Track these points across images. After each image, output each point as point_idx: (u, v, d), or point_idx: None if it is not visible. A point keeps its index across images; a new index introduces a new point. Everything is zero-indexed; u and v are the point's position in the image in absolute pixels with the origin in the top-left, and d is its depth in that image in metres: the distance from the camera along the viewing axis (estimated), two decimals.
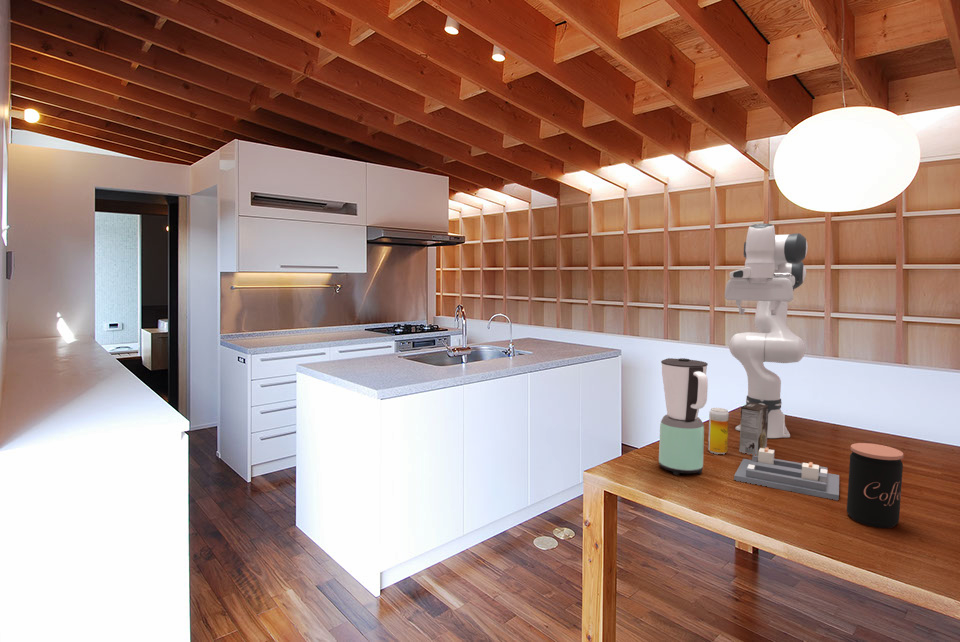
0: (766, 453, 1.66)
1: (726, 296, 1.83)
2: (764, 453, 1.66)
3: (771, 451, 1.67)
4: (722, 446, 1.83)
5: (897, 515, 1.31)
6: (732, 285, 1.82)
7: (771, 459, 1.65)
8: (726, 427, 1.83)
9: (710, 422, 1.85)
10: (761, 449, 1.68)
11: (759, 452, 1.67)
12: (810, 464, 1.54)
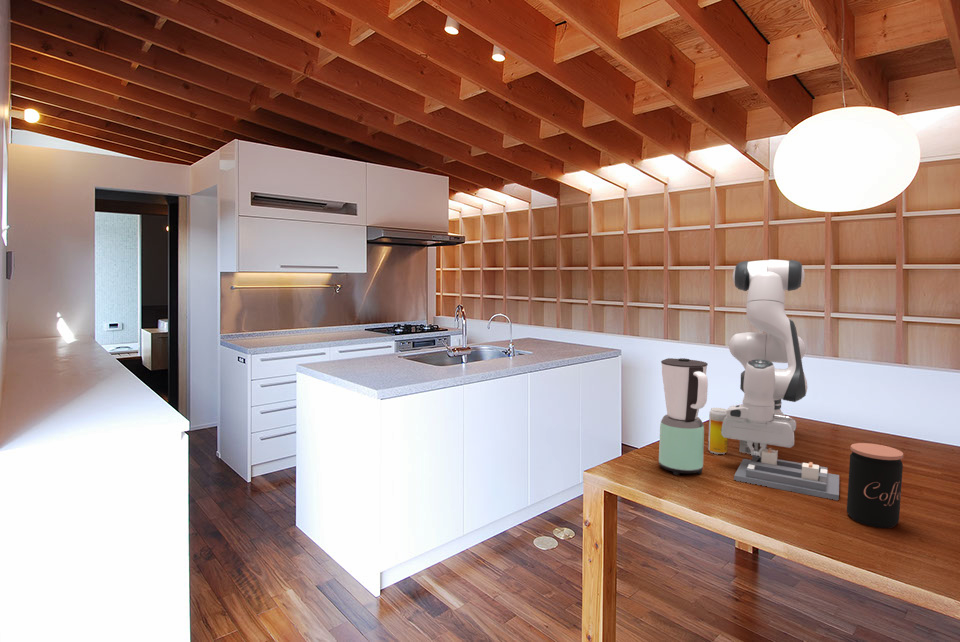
0: (769, 454, 1.65)
1: (723, 433, 1.72)
2: (767, 454, 1.65)
3: (774, 452, 1.66)
4: (722, 446, 1.83)
5: (897, 515, 1.31)
6: (729, 423, 1.71)
7: (774, 460, 1.64)
8: None
9: (710, 422, 1.85)
10: (764, 450, 1.68)
11: (762, 453, 1.66)
12: (810, 464, 1.54)
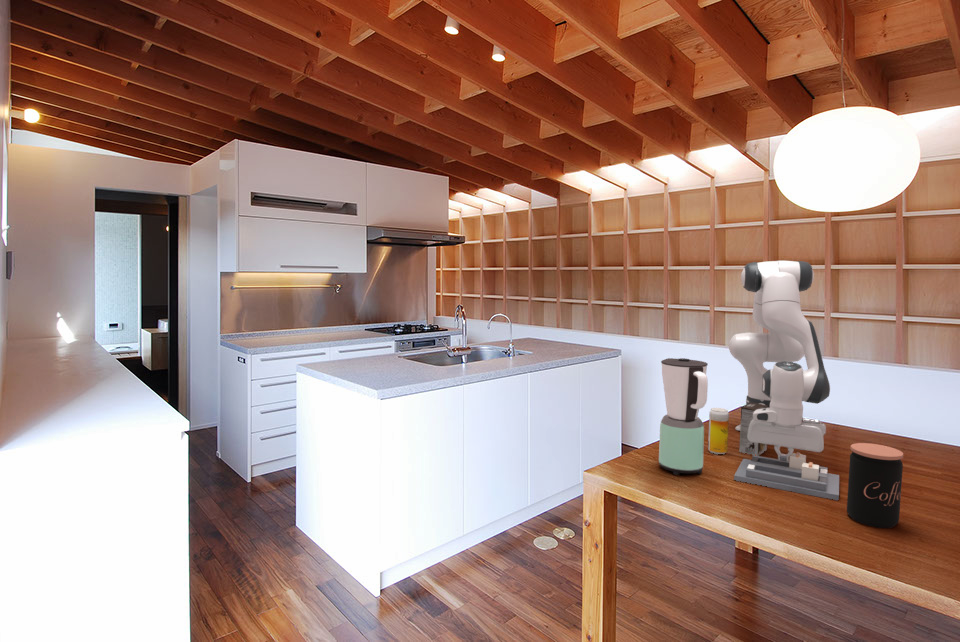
0: (798, 458, 1.61)
1: (749, 437, 1.68)
2: (796, 458, 1.61)
3: (803, 456, 1.62)
4: (722, 446, 1.83)
5: (897, 515, 1.31)
6: (755, 427, 1.67)
7: None
8: (726, 427, 1.83)
9: (710, 422, 1.85)
10: (792, 454, 1.64)
11: (790, 457, 1.62)
12: (810, 464, 1.54)
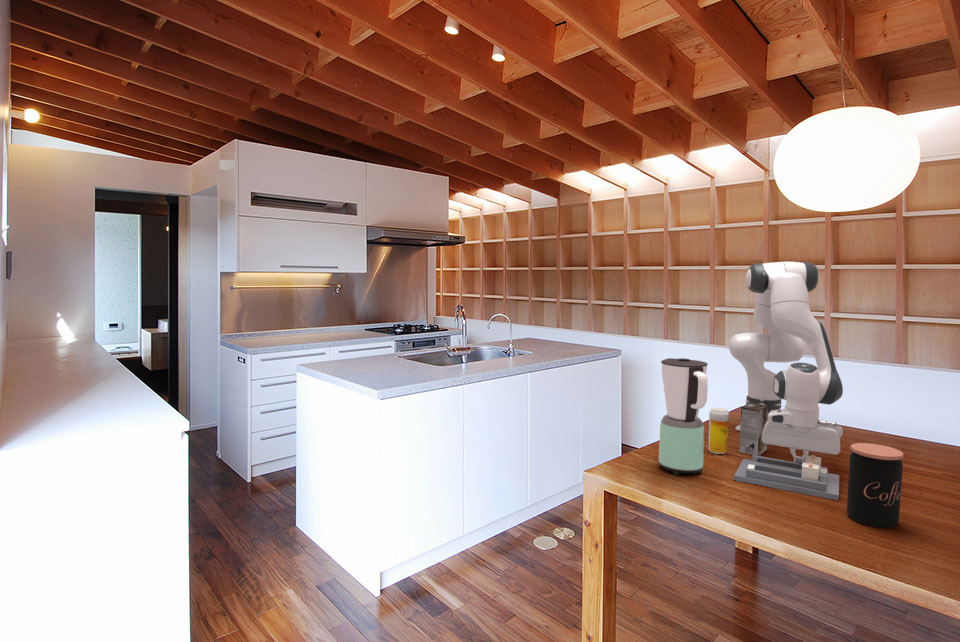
0: (813, 461, 1.59)
1: (763, 440, 1.66)
2: (811, 461, 1.59)
3: (818, 459, 1.60)
4: (722, 446, 1.83)
5: (897, 515, 1.31)
6: (770, 429, 1.65)
7: None
8: (726, 427, 1.83)
9: (710, 422, 1.85)
10: (807, 457, 1.61)
11: (805, 460, 1.60)
12: (810, 464, 1.54)
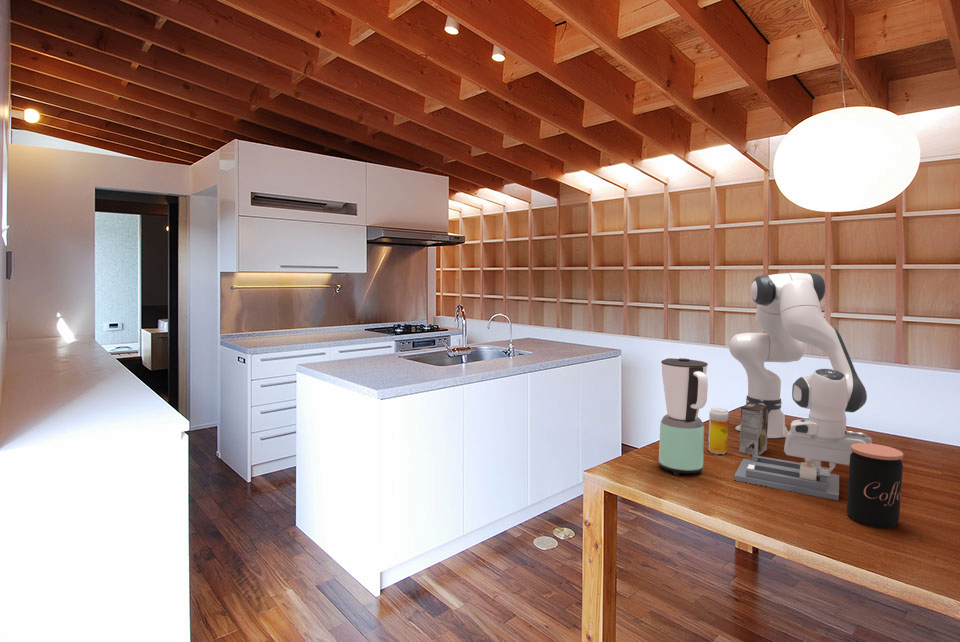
0: (813, 461, 1.59)
1: (786, 451, 1.56)
2: (811, 461, 1.59)
3: None
4: (722, 446, 1.83)
5: (897, 515, 1.31)
6: (793, 439, 1.54)
7: None
8: (726, 427, 1.83)
9: (710, 422, 1.85)
10: None
11: (805, 460, 1.60)
12: (808, 464, 1.54)
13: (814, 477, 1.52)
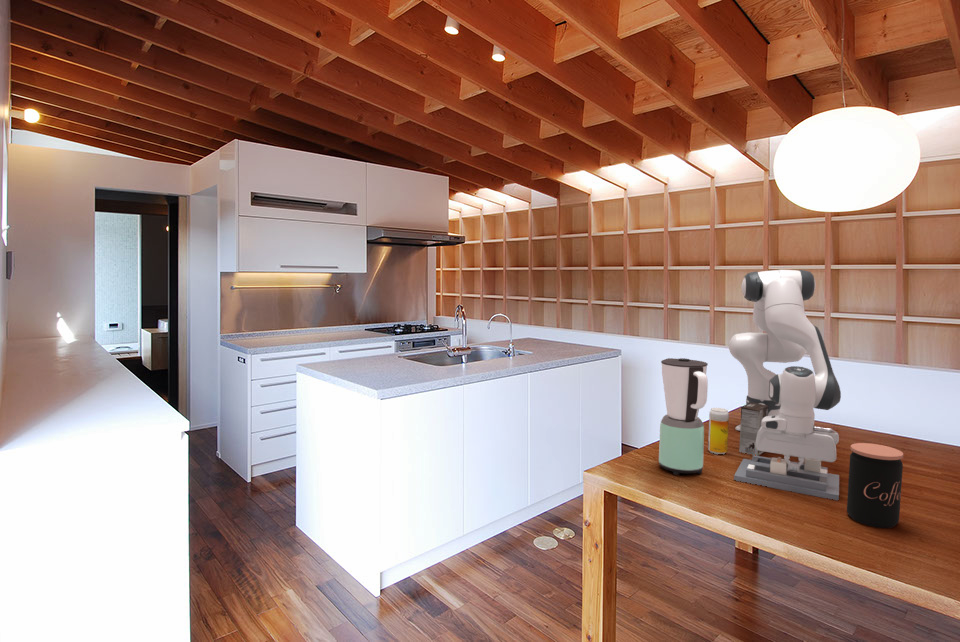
0: (813, 461, 1.59)
1: (757, 446, 1.60)
2: (811, 461, 1.59)
3: None
4: (722, 446, 1.83)
5: (897, 515, 1.31)
6: (764, 435, 1.58)
7: (818, 467, 1.58)
8: (726, 427, 1.83)
9: (710, 422, 1.85)
10: None
11: (805, 460, 1.60)
12: (778, 459, 1.58)
13: (784, 472, 1.56)
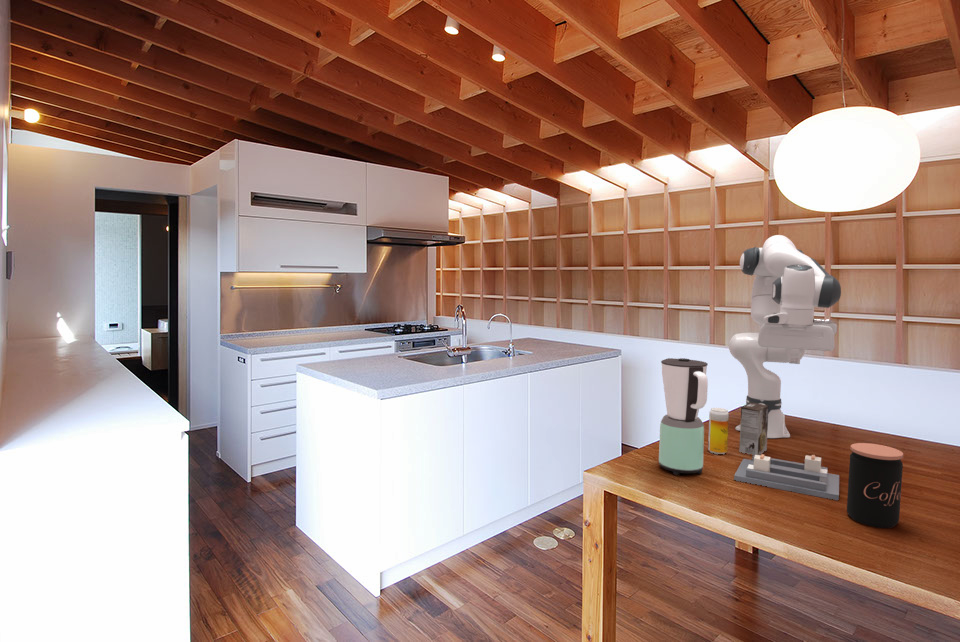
0: (813, 461, 1.59)
1: (760, 342, 1.68)
2: (811, 461, 1.59)
3: (818, 459, 1.60)
4: (722, 446, 1.83)
5: (897, 515, 1.31)
6: (766, 331, 1.67)
7: (818, 467, 1.58)
8: (726, 427, 1.83)
9: (710, 422, 1.85)
10: (807, 457, 1.61)
11: (805, 460, 1.60)
12: (761, 456, 1.60)
13: (767, 469, 1.59)
